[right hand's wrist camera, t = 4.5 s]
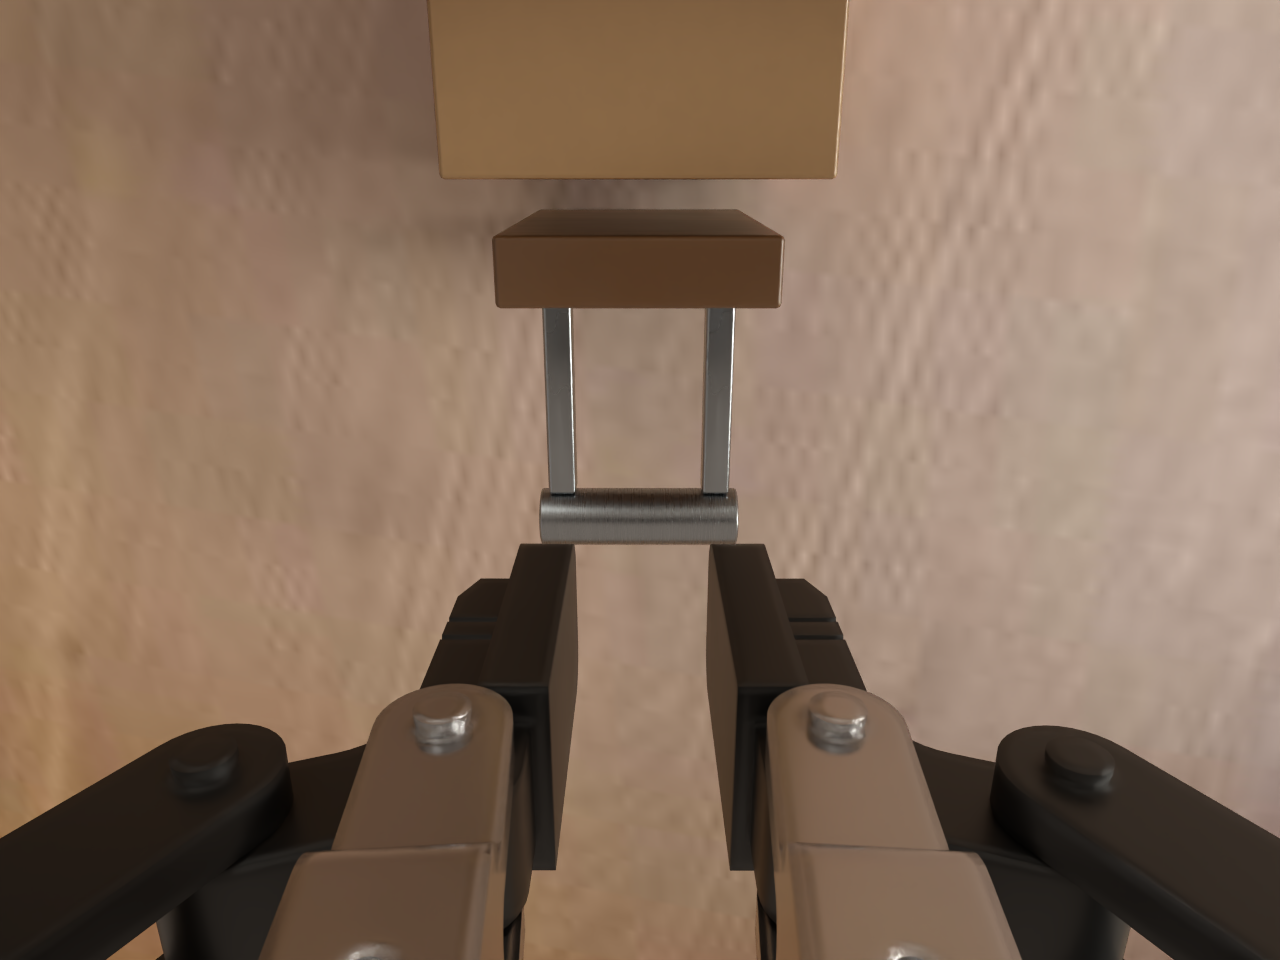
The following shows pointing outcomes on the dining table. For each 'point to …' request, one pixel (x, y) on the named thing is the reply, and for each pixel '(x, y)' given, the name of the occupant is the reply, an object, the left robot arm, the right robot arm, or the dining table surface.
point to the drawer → (638, 278)
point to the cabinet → (638, 88)
